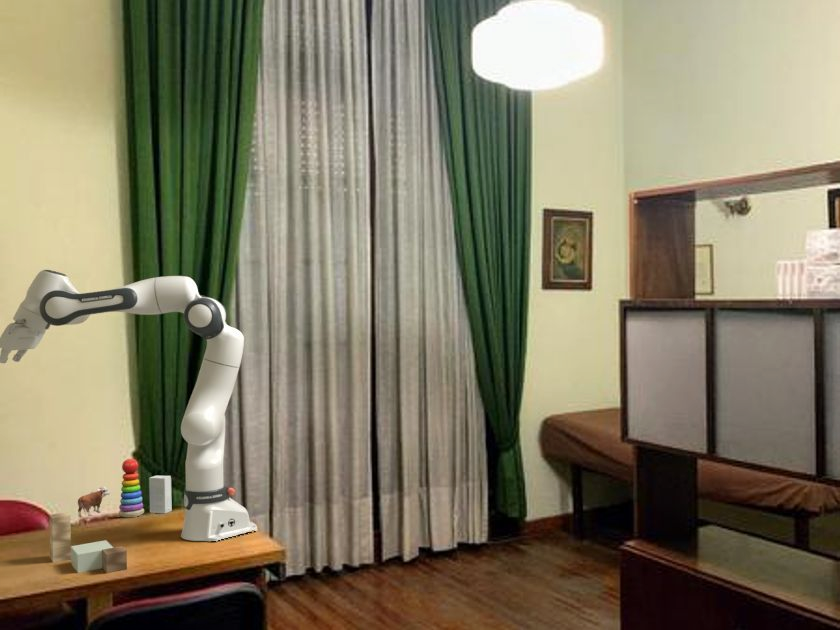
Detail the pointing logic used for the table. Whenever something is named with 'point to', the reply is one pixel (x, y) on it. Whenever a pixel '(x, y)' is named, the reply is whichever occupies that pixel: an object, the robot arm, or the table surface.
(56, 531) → the oak post
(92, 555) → the plinth
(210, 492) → the robot arm
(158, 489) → the skincare box
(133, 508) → the stacking toy
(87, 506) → the bull figurine
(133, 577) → the table surface
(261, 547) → the table surface
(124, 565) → the walnut block
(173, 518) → the table surface
